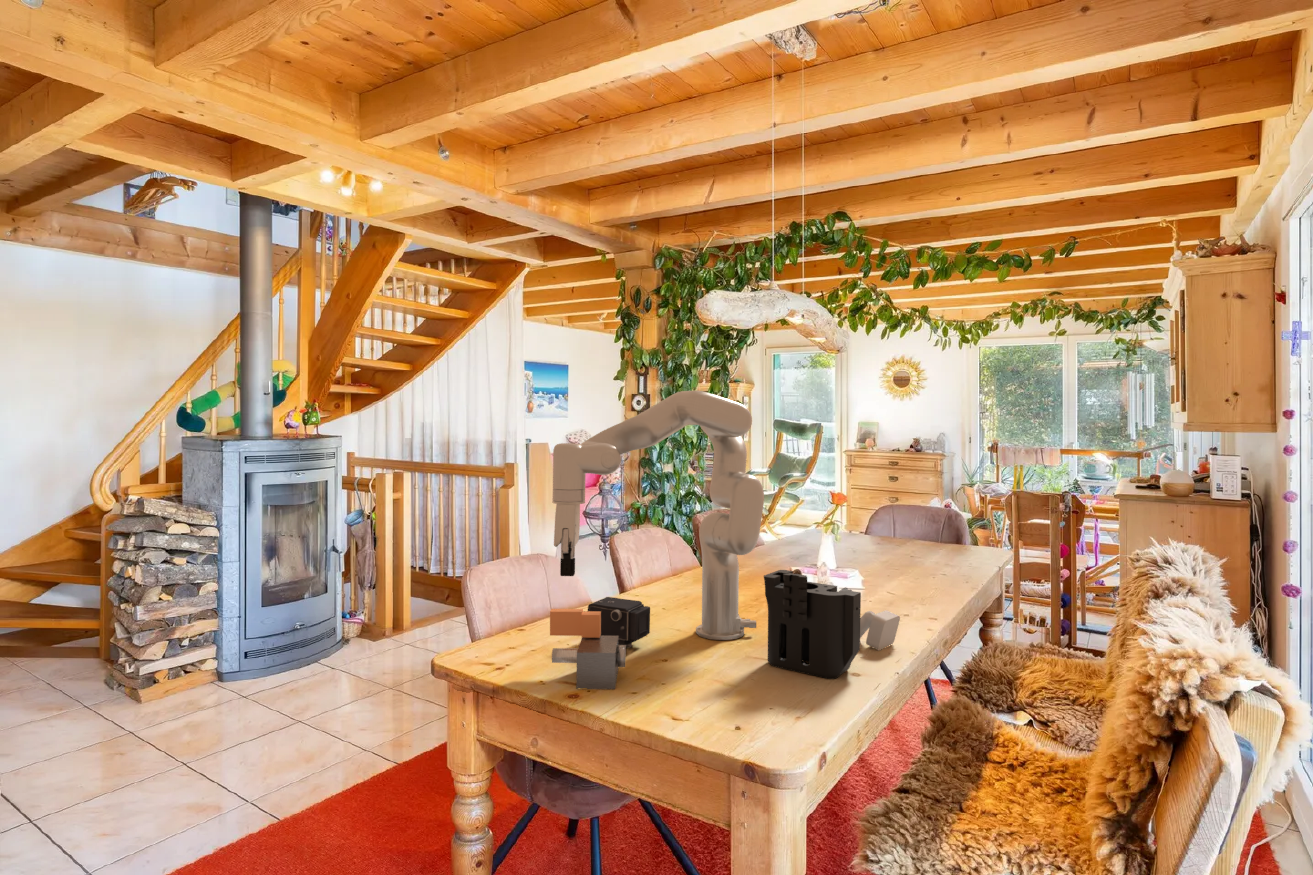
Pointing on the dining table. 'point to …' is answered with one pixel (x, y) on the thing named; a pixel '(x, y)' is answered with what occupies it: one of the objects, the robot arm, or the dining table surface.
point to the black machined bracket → (811, 625)
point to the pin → (571, 655)
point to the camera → (623, 619)
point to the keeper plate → (575, 623)
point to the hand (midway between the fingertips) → (567, 575)
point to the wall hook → (879, 628)
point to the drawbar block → (597, 662)
